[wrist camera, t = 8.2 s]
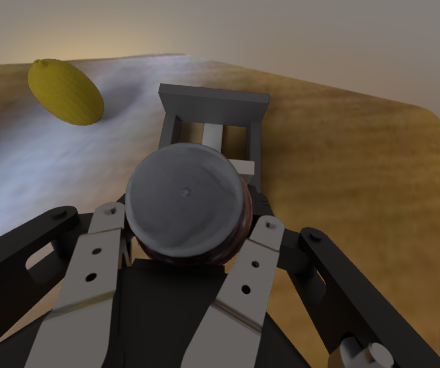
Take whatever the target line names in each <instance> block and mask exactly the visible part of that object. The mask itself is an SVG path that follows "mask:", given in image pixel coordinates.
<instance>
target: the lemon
mask: <svg viewBox="0 0 440 368" xmlns="http://www.w3.org/2000/svg"><path fill="white" fill-rule="evenodd" d="M28 84H29V87H30V89H31V91H32V92H33V94H34V96H35V97H36V98H37V100H38V101H39V102H40V103H41V104H42V105H43V106H44V107H45V108H46V109H47V110H48V111H49V112H51V113H52V114H53V115H54V116H56V117H57V118H59V119H61V120H63V121H65V122H68V123H70V124H74V125H80V126H85V125H91V124H93V123H96V122H97V121H98V120H99V119H100V118H101V117H102V115H103V112H104V102H103V99H102V96H101V94H100V92H99V90H98V89H97V87H96V86H95V85H94V84H93V82H92V81H91V80H90V79H89V78H88V77H87V76H86V75H85V74H84V73H82V72H81V71H80V70H79V69H77V68H76V67H74V66H72V65H71V64H69V63H67V62H64V61H60V60H56V59H43V60H39V59H38V60H35V61H34V64H33V65H32V66H31V67H30V69H29V72H28Z"/></svg>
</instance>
